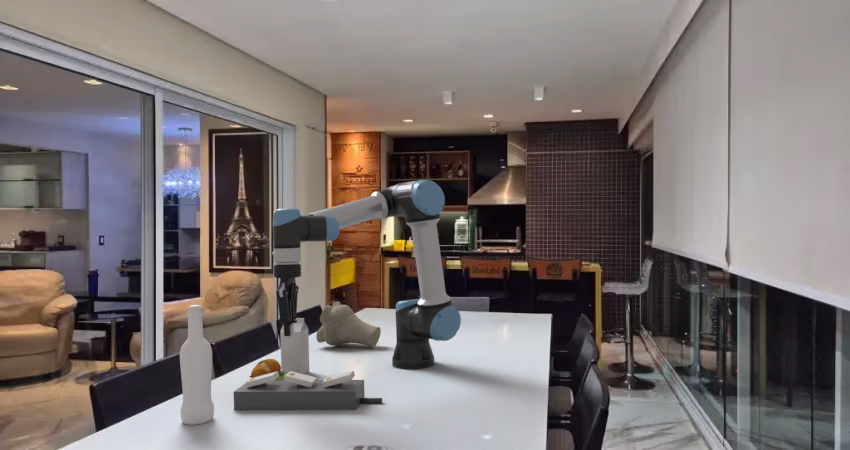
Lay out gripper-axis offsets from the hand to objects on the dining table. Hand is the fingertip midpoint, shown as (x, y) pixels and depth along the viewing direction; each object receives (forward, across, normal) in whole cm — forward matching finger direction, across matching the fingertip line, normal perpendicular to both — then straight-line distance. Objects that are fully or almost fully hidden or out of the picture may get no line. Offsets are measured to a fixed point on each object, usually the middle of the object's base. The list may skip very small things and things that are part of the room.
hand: (288, 346), depth 168 cm
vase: (+16, -78, +1) cm, 80 cm away
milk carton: (+16, -34, -9) cm, 39 cm away
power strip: (+16, 0, +6) cm, 17 cm away
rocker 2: (+9, 0, +3) cm, 10 cm away
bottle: (+16, +15, -20) cm, 30 cm away
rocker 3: (+9, 0, +14) cm, 17 cm away
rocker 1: (+9, 0, -8) cm, 12 cm away
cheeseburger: (+16, -17, -12) cm, 26 cm away
